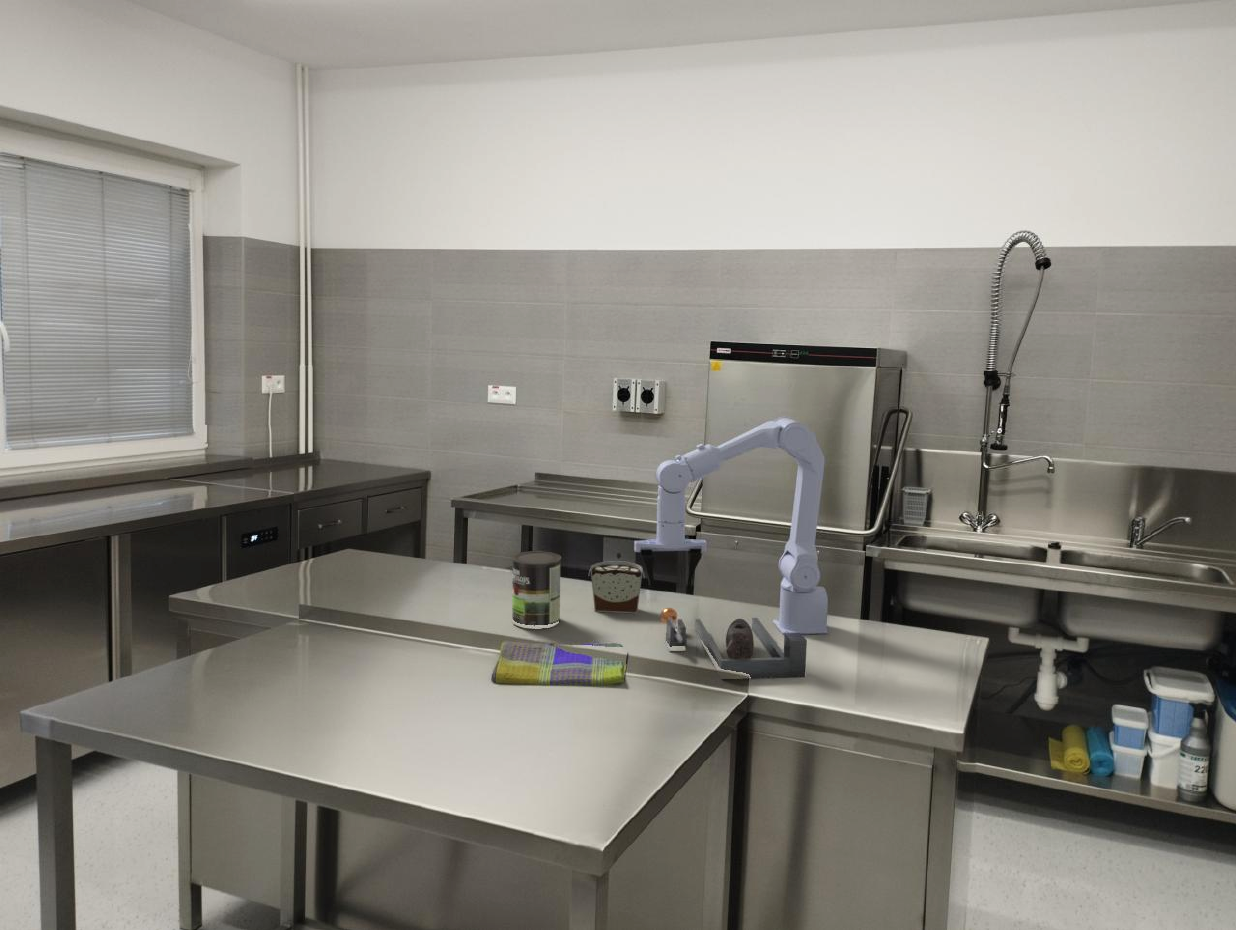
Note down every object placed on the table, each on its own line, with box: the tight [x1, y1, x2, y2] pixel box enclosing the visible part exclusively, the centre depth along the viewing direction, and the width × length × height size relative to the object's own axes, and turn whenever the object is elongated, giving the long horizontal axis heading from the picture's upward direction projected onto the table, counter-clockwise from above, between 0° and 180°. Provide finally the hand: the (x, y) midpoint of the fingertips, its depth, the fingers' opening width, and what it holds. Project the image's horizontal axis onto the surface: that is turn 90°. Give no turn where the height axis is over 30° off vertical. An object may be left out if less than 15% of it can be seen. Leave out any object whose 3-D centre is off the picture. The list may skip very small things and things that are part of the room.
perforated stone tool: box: [725, 618, 755, 659], centre depth 182 cm, size 15×5×7 cm, turn 172°
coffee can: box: [511, 550, 562, 626], centre depth 199 cm, size 10×10×14 cm
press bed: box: [665, 617, 808, 680], centre depth 183 cm, size 23×26×7 cm
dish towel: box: [490, 640, 627, 686], centre depth 175 cm, size 18×24×3 cm
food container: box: [587, 560, 646, 614], centre depth 209 cm, size 12×6×10 cm, turn 84°
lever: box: [660, 607, 683, 643], centre depth 188 cm, size 3×16×3 cm, turn 6°
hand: (669, 585), depth 193 cm, fingers open, 7 cm apart
